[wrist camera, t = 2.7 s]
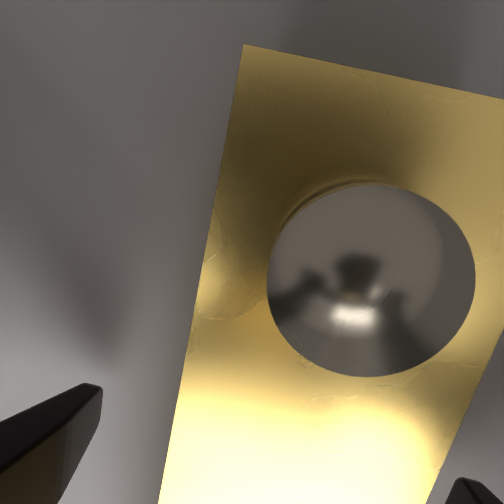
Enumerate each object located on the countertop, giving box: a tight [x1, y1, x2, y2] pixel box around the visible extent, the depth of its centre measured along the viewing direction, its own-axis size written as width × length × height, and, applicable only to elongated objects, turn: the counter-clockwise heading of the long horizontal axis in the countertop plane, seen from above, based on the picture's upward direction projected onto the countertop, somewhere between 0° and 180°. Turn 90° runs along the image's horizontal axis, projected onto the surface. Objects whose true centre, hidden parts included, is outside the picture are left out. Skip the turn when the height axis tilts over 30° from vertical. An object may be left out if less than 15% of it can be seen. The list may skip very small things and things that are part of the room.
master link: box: [158, 44, 504, 504], centre depth 8 cm, size 4×14×5 cm, turn 168°
